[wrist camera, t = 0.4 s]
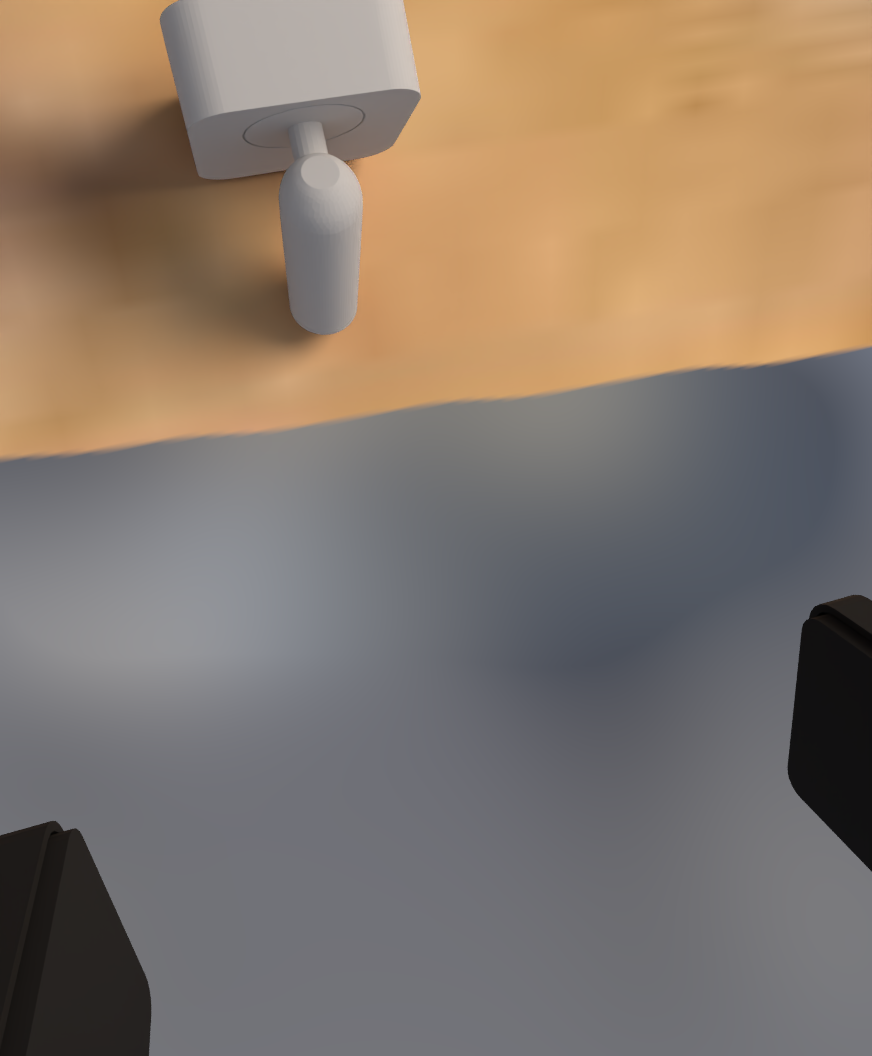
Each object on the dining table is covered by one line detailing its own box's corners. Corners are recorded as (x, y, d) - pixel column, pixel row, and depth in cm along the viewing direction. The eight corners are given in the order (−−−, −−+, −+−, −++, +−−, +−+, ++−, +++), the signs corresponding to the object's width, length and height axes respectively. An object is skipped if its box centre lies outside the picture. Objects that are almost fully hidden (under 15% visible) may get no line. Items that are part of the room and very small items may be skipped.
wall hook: (242, 352, 35) (239, 340, 26) (181, 110, 33) (153, -2, 24) (412, 319, 37) (468, 295, 27) (365, 84, 35) (408, -31, 25)
